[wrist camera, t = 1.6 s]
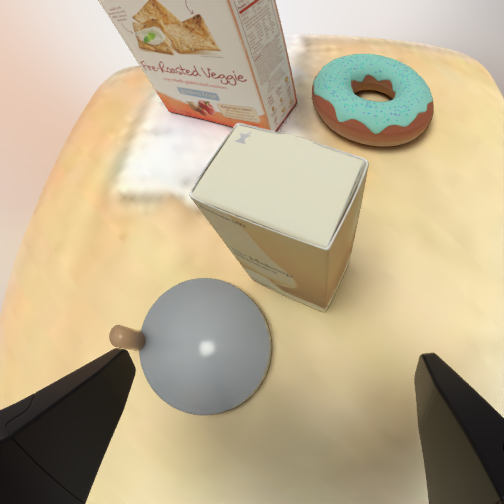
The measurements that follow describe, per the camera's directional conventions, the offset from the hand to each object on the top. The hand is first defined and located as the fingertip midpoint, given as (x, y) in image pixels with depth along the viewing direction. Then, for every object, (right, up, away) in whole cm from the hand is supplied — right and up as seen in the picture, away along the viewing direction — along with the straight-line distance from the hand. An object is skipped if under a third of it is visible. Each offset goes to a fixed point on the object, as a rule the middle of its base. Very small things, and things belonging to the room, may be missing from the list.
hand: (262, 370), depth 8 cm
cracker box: (-3, +19, +23) cm, 29 cm away
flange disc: (-4, -4, +14) cm, 15 cm away
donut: (+12, +17, +19) cm, 28 cm away
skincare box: (+3, +2, +14) cm, 15 cm away
